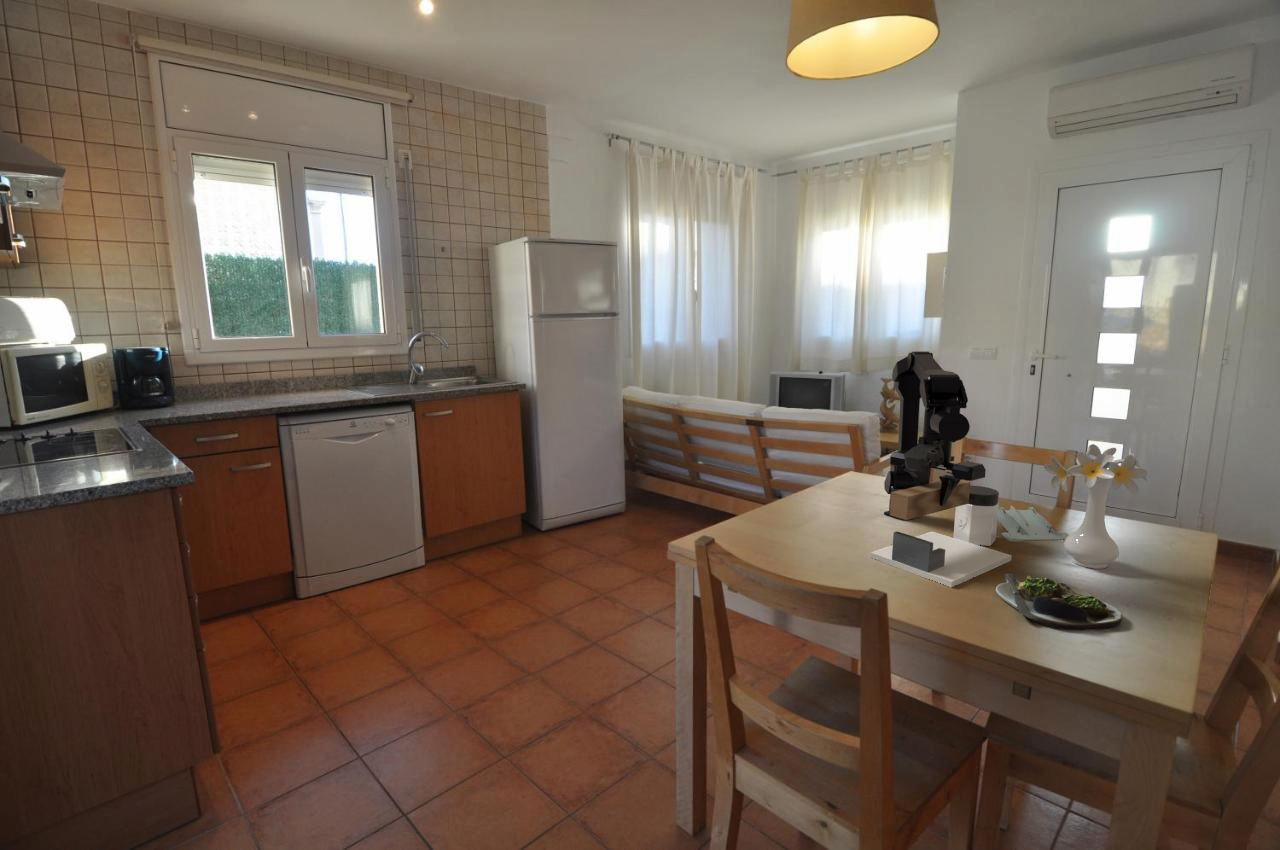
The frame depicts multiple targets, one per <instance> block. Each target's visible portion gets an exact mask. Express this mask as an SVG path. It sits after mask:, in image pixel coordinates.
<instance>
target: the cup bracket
mask: <svg viewBox="0 0 1280 850" xmlns="http://www.w3.org/2000/svg"><path fill="white" fill-rule="evenodd" d="M892 537H893V538H892V545H893V549H892V560H894V561H897V562H900V563H902V564H905V565H908V566H911V567H913V568H916V569H919V570H922V571H924V572H927V573H928V572H931V571H933V570H935V569H938V568H940V567H943V566H944V561H945V549H942V548H938V549H936V550H933V542H929V541H926V540H923V539H920V538H917V537H916V536H913V535H910V534H906V533H903V532H901V531H894V532H893V536H892Z"/></svg>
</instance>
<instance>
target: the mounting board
mask: <svg viewBox="0 0 1280 850" xmlns="http://www.w3.org/2000/svg"><path fill="white" fill-rule="evenodd" d="M915 537H917V538H920V539H923V540H926V541H929V542H933V550H936V549H938V548H942V549H945V561H944V566H943V567H940V568H938V569H935V570H933V571H931V572H928V573H927V572H924V571H922V570H919V569H916V568H913V567H911V566H908V565H905V564H902V563H900V562H897V561H894V560H892V549H893V544H892V545H888V546H885V547H883V548H880V549H876V550H874V551H871V552H870V557H869V558H870V559H872V558H873V559H872V560H875V559H876V561H877V562H881V563H883V564H886V565H889V566H892V567H895V568H897V569H900V570H903V571H905V572H907V573H910V574H913V575H916V576H918V577H922V578H924V579H926V578H927V580H929V579H930V581H932V580H933V581H932V582H935V581H936V582H935V583H937V582H938V584H940V583H941V584H940V585H943V584H944V585H943V586H945V585H946V587H948V586H949V588H954V587H956V586H958V585H960V584H963V583H965V582H968V581H970V580H972V579H974V578H976V577H978V576H981V575H982V574H985V573H987V572H989V571H991V570H993V569H996V568H998V567H1000V566H1004V564H1007V563H1009V562H1011V561H1012V555H1011V554H1008V553H1005V552H1002V551H999V550H995V549H991V548H988V547H986V546H980V545H975V544H972V543H969V542H965V541H962V540H959V539H955V538H953V536H952V537H951V536H948V535H945V534H941V533H938V532H935V531H932V530H931V531H929V532H926V533H923V534H920V535H917V536H915ZM973 577H974V578H973ZM955 585H956V586H955Z"/></svg>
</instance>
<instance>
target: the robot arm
mask: <svg viewBox="0 0 1280 850" xmlns="http://www.w3.org/2000/svg"><path fill="white" fill-rule="evenodd" d="M933 354H934V353H933V352H930V351H922V350H921V351H911V352H908V354H907V356H906V357H904V358H902V359H900V360H898V361H896V363H895V365H894V367H893V368H892V369H893V370H892V374H891V378H892V382H893V386H894V389H895V392H896V393H897V395H898V396H899V400H900V402H899V419H898V420H899V422H898V440H897V441H898V442H897V451H893V452H892V453H891V454H890V456H889V464H890V465H889V466H890V468H889V471H888V472H887V474H886V477H885V479H884V485H883V487H884V488H883V489H884V491H885V492H886V494H887V495H889V496H890V497H889V505H888V510H886V511H884V512H883V515H886V516H889V517H892V518H896V519H899V520H903V521H905V520H904V519H901V518H898V517H894V516H891V515H890V502H891V492H894V491H899V490H903V489H908V488H912V487H916V486H921V485H925V484H930V476H931V471H932V469H935V470H938V471H944V475H939V476H938V479H939V481H941V493H940V505H941V506H943V505H945V503H946V502H947V500H948V498H949V496H950V495H951V493H952V491H953V490H954V488H955V487H956V485H957V484H958V483H959V482H960V480H964V481H968V482H972V481H977V480H980V479H981V480H982V479H985V478H986V468H985V465H983V463H979V462H972V461H968V460H966V461H962V462H961V461H960V462H957V463H953V462H954V461H955V456H954V455H952V448H953V443H957V441H958V442H959V441H961V440H963V439H964V438H965V437H966V436H968V434H969V431H970V429H971V427H970V422H969V420H968V418H967V417H966V416H965V415H964V414H961V409H967V403H968V402H969V399H968V396H967V395H968V394H967V392H966V391H967V390H966V388H965V385H964V382H963V379H961V377H960V375H959V374H957V373H956V372H953V371H949V370H944V369H943V368H942V366H940V363H938V362H937V361H936V359H935V358H934V355H933ZM921 400H922V404H923V407H924V414H923V429H922V436H919V423H920V422H919V421H920V420H919V419H920V403H921V402H920V401H921Z"/></svg>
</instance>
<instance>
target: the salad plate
mask: <svg viewBox="0 0 1280 850" xmlns="http://www.w3.org/2000/svg"><path fill="white" fill-rule="evenodd" d="M1004 577H1005V580H1006V582H1002V583H999V584H998V585H997V586H996V588H995V593H996V594H997V595H998V596H999V597H1000V598H1001V599H1002V600H1003V601H1005V602H1006V603H1007V604H1008V605H1010V606H1011V607H1013V608H1014V609H1015V610H1016V611H1018V612H1019V613H1020V614H1021V615H1023V616H1024V617H1025V618H1027V619H1029V620H1031V621H1032V622H1035V623H1037V624H1040V625H1043V626H1046V627H1050V628H1055V629H1059V630H1067V631H1088V630H1089V631H1090V630H1092V631H1093V630H1095V631H1096V630H1107V629H1110V628H1114V627H1116V626H1118V625H1120V624H1121V623H1122V619H1123V616H1122V615H1123V614H1122V612H1121V611H1120V609H1118V608H1116V607H1115V606H1113V605H1111V604H1109V603H1107V602H1105V601H1103V600H1101V599H1099V598H1097V597H1095V596H1093V595H1092V594H1091V593H1088V592H1087V591H1085V590H1083V589H1081V588H1080V587H1077V586H1074V585H1072V584H1068V583H1065V582H1059V581H1055V580H1053V579H1051V578H1047V577H1045V578H1039V577H1036V578H1032V577H1031V575H1027V576H1026V580H1025V581H1019V580H1018V579H1017V576H1016V575H1015V574H1013V573H1006V574H1005V575H1004Z"/></svg>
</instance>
